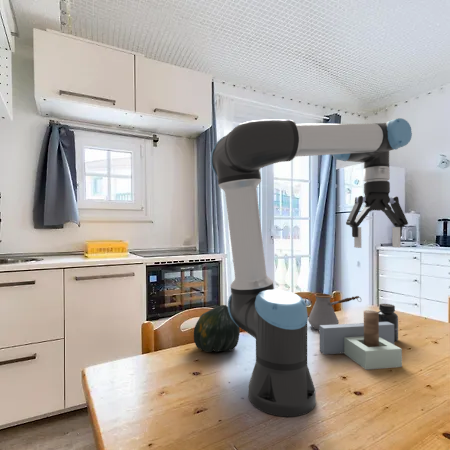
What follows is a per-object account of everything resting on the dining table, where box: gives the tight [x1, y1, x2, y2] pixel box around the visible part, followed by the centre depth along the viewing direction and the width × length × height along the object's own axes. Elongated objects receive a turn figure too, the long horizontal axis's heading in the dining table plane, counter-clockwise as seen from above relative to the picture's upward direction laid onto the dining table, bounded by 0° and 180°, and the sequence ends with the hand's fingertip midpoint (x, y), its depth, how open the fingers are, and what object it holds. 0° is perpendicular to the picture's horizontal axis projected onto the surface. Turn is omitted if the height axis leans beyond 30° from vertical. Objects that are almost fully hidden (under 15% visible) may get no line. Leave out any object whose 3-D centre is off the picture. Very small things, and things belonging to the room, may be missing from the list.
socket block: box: [343, 336, 403, 370], centre depth 90 cm, size 11×11×5 cm
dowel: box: [363, 309, 379, 347], centre depth 90 cm, size 4×4×12 cm
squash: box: [193, 304, 241, 353], centre depth 99 cm, size 14×15×15 cm
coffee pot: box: [307, 293, 362, 331], centre depth 116 cm, size 21×12×15 cm, turn 36°
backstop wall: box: [318, 322, 395, 355], centre depth 97 cm, size 24×3×8 cm, turn 99°
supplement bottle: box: [377, 303, 399, 343], centre depth 107 cm, size 7×7×12 cm
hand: (377, 247), depth 98 cm, fingers open, 13 cm apart
